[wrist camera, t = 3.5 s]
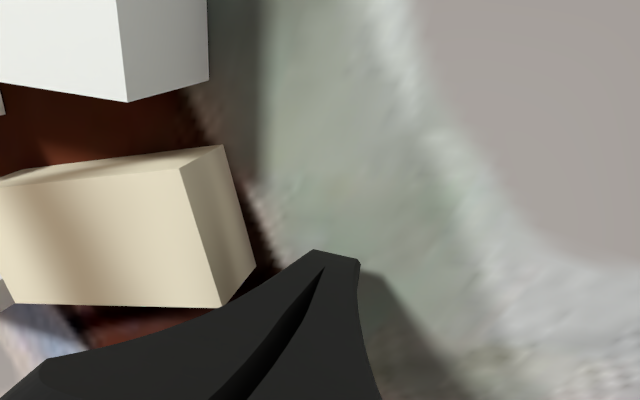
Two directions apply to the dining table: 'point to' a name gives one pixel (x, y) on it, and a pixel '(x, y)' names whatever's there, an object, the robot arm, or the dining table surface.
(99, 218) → the beige rectangular block
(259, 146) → the dining table surface
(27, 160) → the dining table surface
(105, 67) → the white u-shaped block
